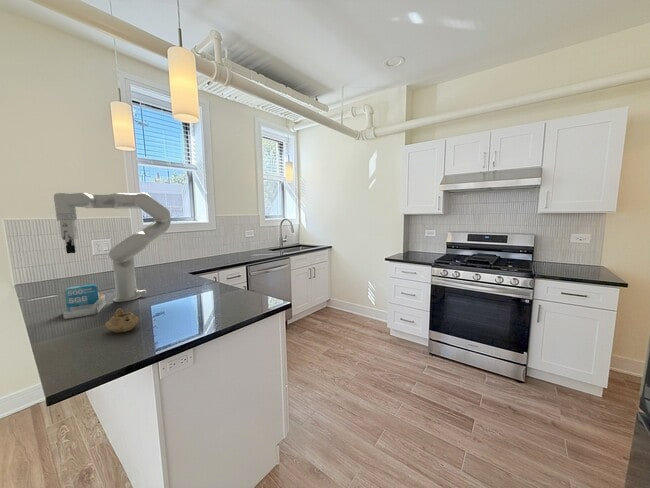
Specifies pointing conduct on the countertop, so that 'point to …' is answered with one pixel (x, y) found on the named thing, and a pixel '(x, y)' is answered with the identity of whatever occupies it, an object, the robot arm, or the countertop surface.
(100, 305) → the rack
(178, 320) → the countertop surface
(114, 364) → the countertop surface
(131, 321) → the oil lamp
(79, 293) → the data package
